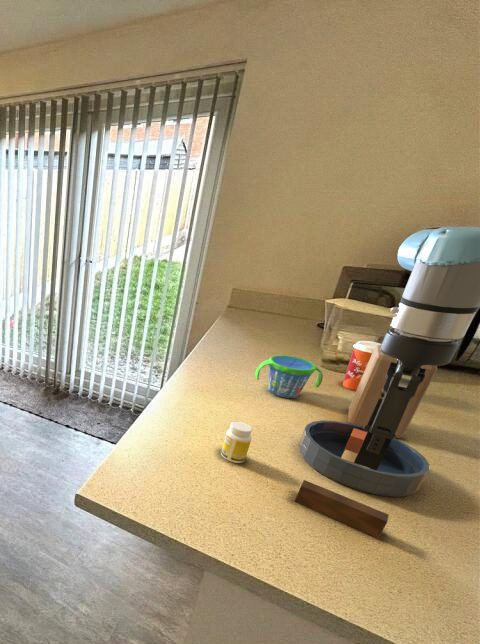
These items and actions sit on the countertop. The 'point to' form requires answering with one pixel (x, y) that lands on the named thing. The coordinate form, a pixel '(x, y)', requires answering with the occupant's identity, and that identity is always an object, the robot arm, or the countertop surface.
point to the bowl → (389, 480)
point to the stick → (342, 508)
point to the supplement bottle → (237, 442)
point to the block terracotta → (355, 440)
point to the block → (372, 389)
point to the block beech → (350, 456)
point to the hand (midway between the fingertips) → (370, 448)
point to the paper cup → (358, 363)
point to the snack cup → (288, 375)
